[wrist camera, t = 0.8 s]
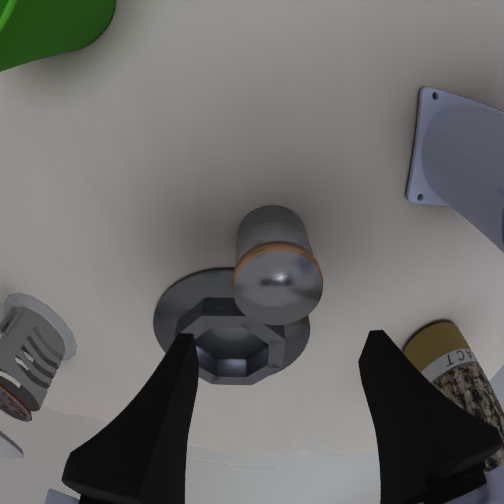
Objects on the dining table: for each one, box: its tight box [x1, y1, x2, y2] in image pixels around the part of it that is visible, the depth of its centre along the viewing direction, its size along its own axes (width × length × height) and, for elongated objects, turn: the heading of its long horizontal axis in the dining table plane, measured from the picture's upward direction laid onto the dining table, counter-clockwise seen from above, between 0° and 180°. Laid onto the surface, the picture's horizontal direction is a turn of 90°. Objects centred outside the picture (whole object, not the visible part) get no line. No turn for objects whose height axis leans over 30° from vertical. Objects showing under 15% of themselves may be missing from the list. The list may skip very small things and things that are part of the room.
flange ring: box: [153, 268, 310, 385], centre depth 24 cm, size 13×13×2 cm
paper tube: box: [404, 322, 504, 474], centre depth 16 cm, size 7×7×25 cm
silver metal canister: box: [232, 205, 323, 325], centre depth 18 cm, size 5×5×6 cm
